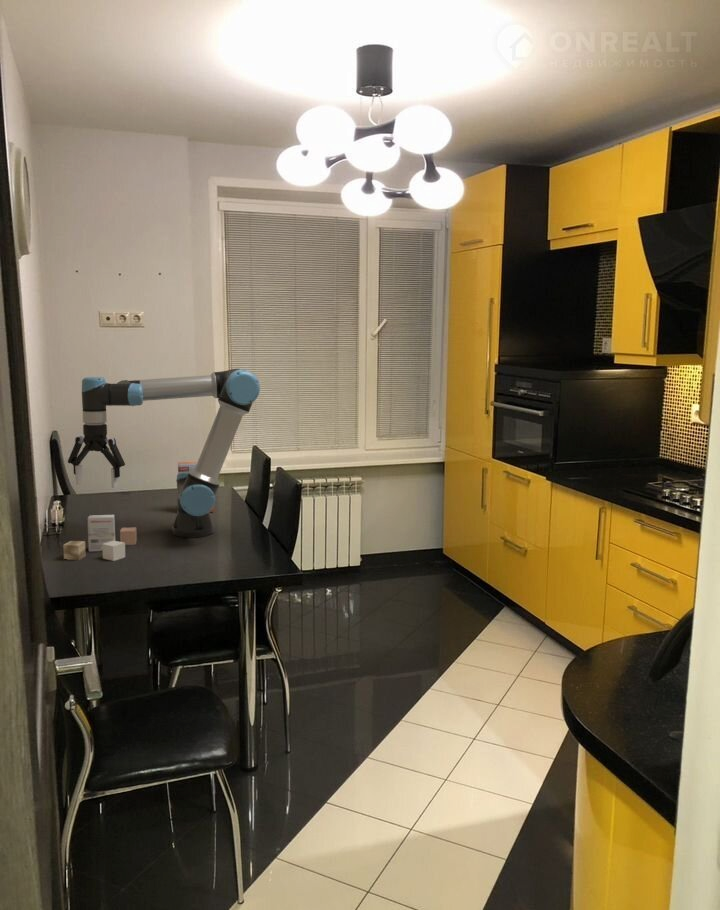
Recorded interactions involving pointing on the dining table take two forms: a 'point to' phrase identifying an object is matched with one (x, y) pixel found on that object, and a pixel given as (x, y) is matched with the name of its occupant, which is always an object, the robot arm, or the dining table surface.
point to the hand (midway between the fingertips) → (97, 485)
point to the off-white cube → (113, 550)
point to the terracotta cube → (128, 536)
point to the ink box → (100, 531)
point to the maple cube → (74, 550)
